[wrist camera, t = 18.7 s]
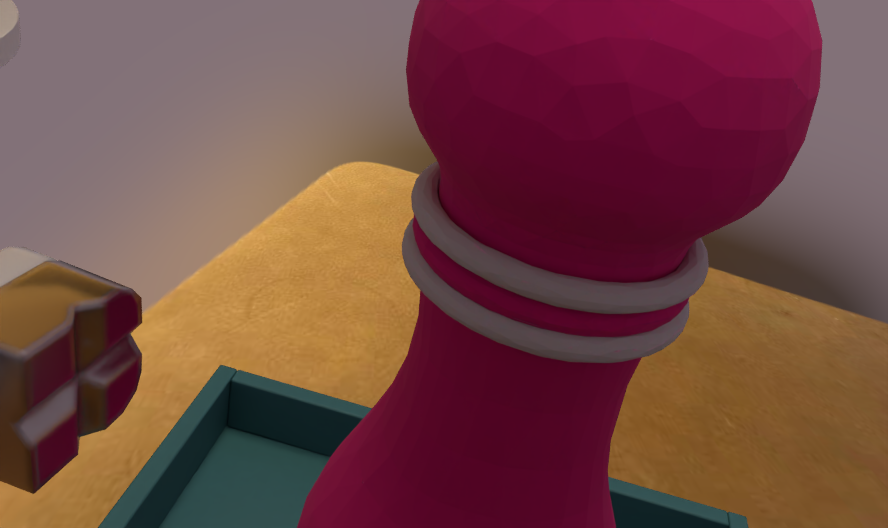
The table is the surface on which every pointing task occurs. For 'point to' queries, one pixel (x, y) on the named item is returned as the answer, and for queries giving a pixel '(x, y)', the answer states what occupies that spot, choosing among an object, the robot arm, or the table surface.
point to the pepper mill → (561, 239)
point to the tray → (296, 464)
